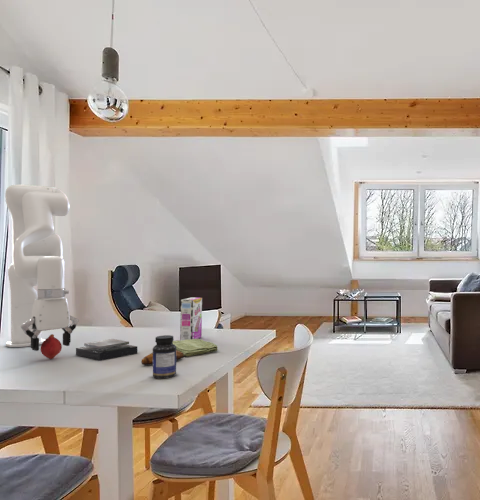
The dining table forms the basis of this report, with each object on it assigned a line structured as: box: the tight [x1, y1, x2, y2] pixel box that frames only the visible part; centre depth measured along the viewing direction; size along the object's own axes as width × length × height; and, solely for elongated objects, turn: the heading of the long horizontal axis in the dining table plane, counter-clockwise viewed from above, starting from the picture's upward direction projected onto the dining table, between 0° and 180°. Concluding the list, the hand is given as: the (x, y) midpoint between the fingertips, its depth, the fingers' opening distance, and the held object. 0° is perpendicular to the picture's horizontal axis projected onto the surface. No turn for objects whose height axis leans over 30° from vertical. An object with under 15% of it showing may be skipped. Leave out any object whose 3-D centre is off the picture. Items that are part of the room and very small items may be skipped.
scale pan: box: [83, 338, 130, 349], centre depth 162 cm, size 10×10×1 cm
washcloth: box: [173, 338, 219, 357], centre depth 167 cm, size 13×18×3 cm
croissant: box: [140, 350, 185, 366], centre depth 149 cm, size 14×7×5 cm, turn 138°
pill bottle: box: [152, 334, 177, 380], centre depth 133 cm, size 6×6×11 cm
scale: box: [75, 344, 138, 361], centre depth 162 cm, size 15×13×3 cm
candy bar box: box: [179, 296, 203, 341], centre depth 188 cm, size 11×5×16 cm, turn 178°
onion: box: [40, 333, 63, 360], centre depth 155 cm, size 6×6×8 cm
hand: (51, 347), depth 155 cm, fingers open, 8 cm apart
